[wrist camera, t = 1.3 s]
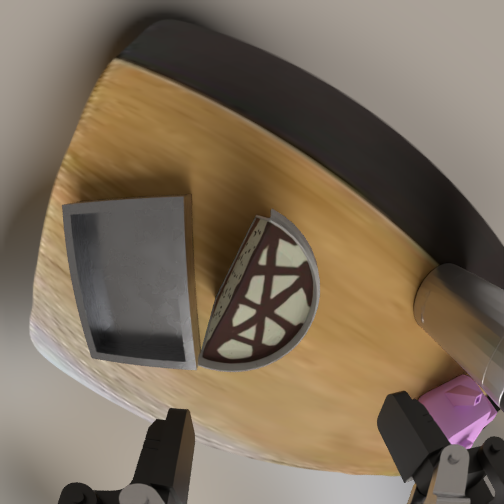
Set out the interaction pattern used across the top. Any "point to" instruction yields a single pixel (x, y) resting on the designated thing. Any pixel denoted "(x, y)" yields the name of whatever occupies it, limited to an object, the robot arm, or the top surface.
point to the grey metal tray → (135, 279)
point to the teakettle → (459, 409)
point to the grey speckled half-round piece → (263, 299)
